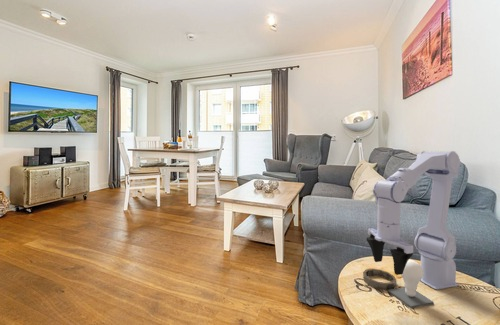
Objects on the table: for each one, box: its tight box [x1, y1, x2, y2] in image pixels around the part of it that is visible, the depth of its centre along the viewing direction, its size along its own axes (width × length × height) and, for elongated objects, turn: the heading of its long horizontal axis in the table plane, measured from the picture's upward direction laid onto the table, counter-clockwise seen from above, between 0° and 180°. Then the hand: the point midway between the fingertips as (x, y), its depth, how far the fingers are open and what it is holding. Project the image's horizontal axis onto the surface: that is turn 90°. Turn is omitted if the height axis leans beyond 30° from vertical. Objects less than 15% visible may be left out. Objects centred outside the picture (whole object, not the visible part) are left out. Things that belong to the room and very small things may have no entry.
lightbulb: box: [400, 259, 424, 297], centre depth 70 cm, size 6×6×11 cm
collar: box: [362, 268, 397, 291], centre depth 79 cm, size 10×10×2 cm
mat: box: [387, 286, 434, 309], centre depth 71 cm, size 8×8×1 cm
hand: (387, 267), depth 68 cm, fingers open, 7 cm apart
